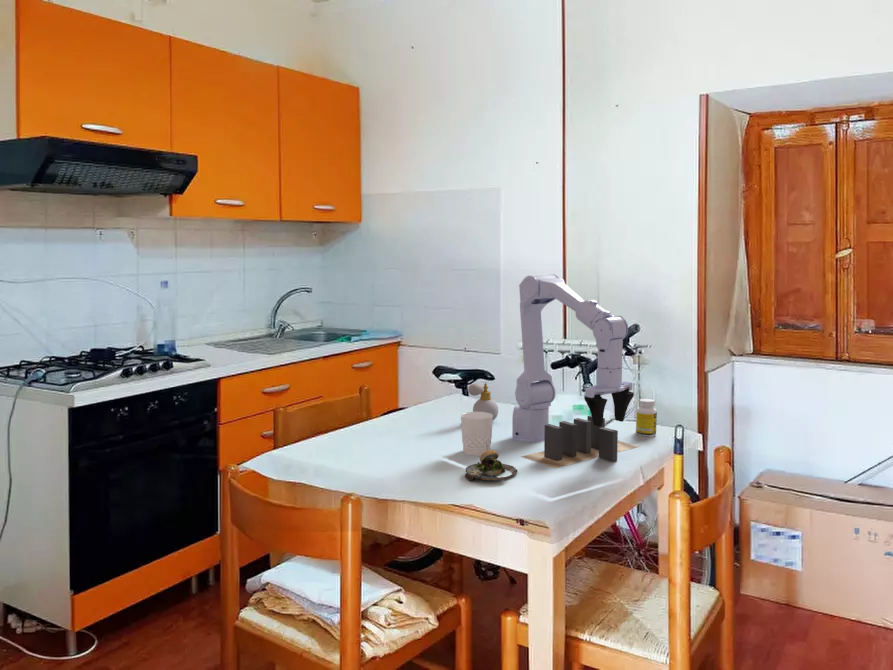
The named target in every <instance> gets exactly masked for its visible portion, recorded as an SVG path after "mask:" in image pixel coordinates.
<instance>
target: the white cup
mask: <svg viewBox="0 0 893 670" xmlns="http://www.w3.org/2000/svg"><path fill="white" fill-rule="evenodd" d="M492 419H493V415H492V414H490V413H486V412H473V411H468V412H464V413H461V414H460V421H461V423H460V424H461V427H460V428H461V440H462V449H463V450H462V451H463V452H462V453H463V454H464V455H467V456H472V457H473V456H475V457H478V456H479V457H481V455H482V454H483V453H484V452H485V451H487V449H488V450H491V445H492V438H493V437H492V436H493V434H492V433H493V421H492ZM486 443H487V444H486Z"/></svg>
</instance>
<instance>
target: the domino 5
mask: <svg viewBox="0 0 893 670" xmlns="http://www.w3.org/2000/svg"><path fill="white" fill-rule="evenodd" d="M618 435H619V430H616V429H612V428H608V427H606V426H605V427H602V428H599V457H598V459H602V460H604V461H607V462H611V463H615V462H618V452H617V443H618V441H619V438H618Z"/></svg>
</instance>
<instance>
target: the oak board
mask: <svg viewBox="0 0 893 670" xmlns="http://www.w3.org/2000/svg"><path fill="white" fill-rule="evenodd" d="M640 447H641V446H639V445H635V444H632V443H629V442H625V441H621V440H618V443H617V453H620V452H624V451H628V450H632V449H636V448H640ZM520 457H521V458H524V459H527V460H530V461H532V462H536V463H537V464H538V463H539V464H542V465H545V466H547V467H551V468H553V469H559V468H562V467H567V466H570V465H574V464H579V463H581V462H585V461H589V460H594V459H597V458H598V459H599V450H597V449H593V448H591V453H588V454H585V453H581V452H578V451H577V452H576V457H569V456H565V455H562V460H560V461H555V460H552V459H549V458H546V457H544V450H543V451H539V452H534V453H531V454H530V453H529V454H526V455H521V456H520Z"/></svg>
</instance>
